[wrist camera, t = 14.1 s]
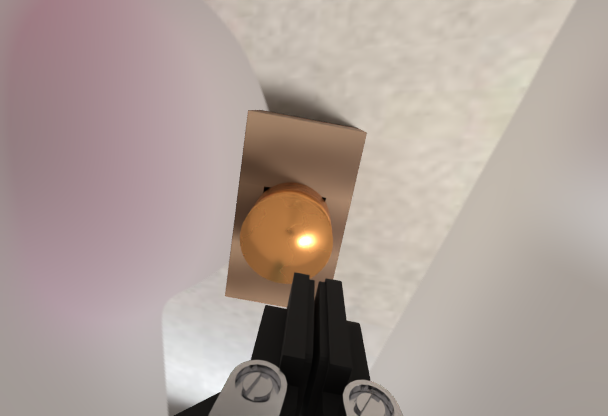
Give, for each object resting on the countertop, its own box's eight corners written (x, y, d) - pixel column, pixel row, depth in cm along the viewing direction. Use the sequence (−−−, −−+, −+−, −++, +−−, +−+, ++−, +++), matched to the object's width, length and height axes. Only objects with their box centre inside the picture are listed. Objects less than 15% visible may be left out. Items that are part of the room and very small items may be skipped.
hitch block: (261, 110, 30) (248, 110, 24) (357, 128, 30) (366, 132, 25) (240, 265, 35) (225, 296, 29) (323, 280, 35) (325, 314, 29)
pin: (267, 164, 31) (245, 188, 22) (334, 176, 31) (341, 206, 22) (258, 226, 33) (234, 275, 23) (321, 238, 33) (323, 291, 24)
